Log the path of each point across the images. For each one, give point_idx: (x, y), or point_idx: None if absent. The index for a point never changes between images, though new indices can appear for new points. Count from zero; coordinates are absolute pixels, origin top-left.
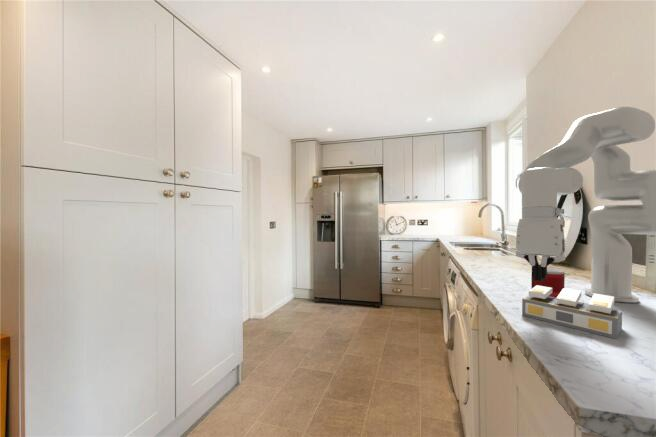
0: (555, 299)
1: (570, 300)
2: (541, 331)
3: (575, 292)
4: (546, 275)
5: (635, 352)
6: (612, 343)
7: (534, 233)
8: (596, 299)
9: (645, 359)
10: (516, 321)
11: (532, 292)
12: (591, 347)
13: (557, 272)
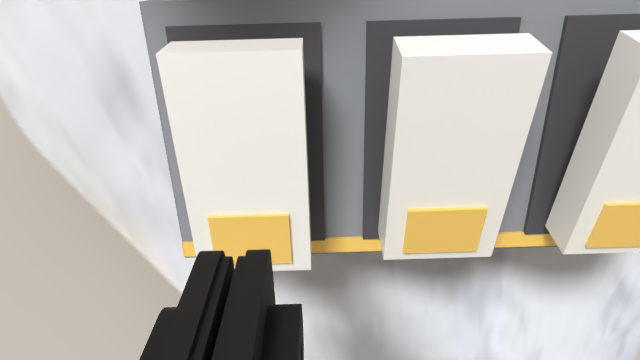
0: (335, 72)
1: (464, 254)
2: (346, 336)
3: (502, 113)
4: (300, 331)
5: (622, 284)
6: (566, 256)
7: None
8: (630, 170)
9: (636, 320)
10: None
11: None
12: (501, 349)
13: None
